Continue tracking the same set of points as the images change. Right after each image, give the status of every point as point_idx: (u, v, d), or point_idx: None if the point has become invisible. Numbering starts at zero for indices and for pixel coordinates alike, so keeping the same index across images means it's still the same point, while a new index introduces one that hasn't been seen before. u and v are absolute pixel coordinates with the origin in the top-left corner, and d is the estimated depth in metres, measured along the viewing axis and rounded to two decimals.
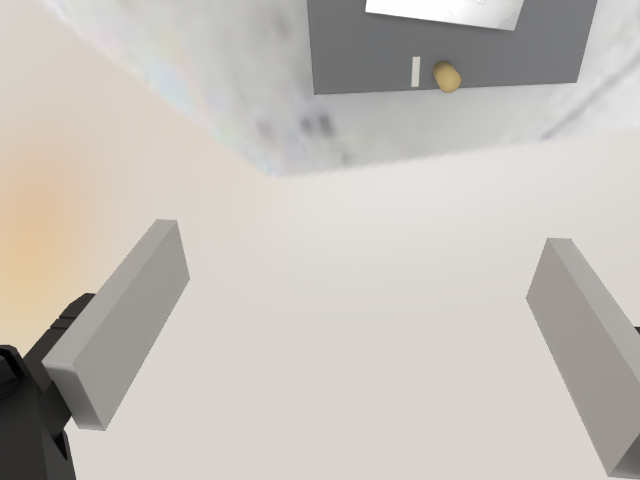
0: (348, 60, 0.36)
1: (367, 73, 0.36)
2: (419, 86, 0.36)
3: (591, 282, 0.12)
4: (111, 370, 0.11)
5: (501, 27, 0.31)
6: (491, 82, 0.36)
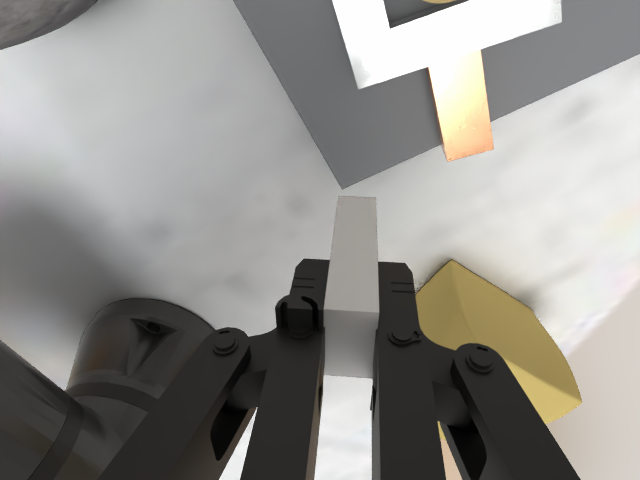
0: (621, 5, 0.24)
1: None
2: None
3: (368, 228, 0.15)
4: None
5: None
6: None
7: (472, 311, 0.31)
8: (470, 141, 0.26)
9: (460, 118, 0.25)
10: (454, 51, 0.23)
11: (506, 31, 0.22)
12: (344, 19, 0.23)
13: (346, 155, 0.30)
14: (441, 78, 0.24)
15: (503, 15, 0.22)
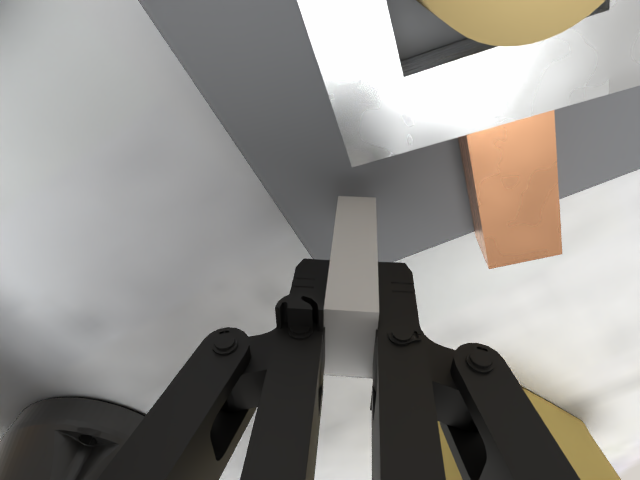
0: None
1: None
2: None
3: (367, 228, 0.15)
4: None
5: None
6: None
7: None
8: (526, 243, 0.17)
9: (513, 211, 0.16)
10: (510, 113, 0.14)
11: (601, 82, 0.13)
12: (328, 61, 0.14)
13: None
14: (486, 152, 0.15)
15: (599, 56, 0.13)
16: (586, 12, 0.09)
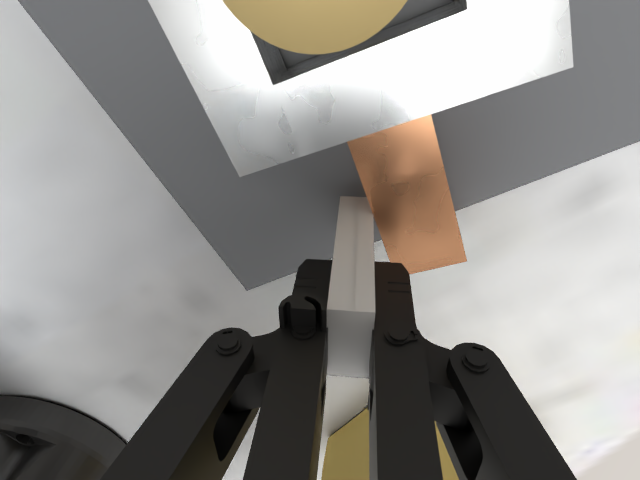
0: None
1: None
2: None
3: (364, 228, 0.15)
4: None
5: None
6: None
7: None
8: (429, 250, 0.16)
9: (409, 218, 0.15)
10: (387, 118, 0.14)
11: (474, 84, 0.13)
12: (194, 71, 0.13)
13: (246, 248, 0.20)
14: (371, 159, 0.14)
15: (467, 58, 0.12)
16: (385, 20, 0.09)
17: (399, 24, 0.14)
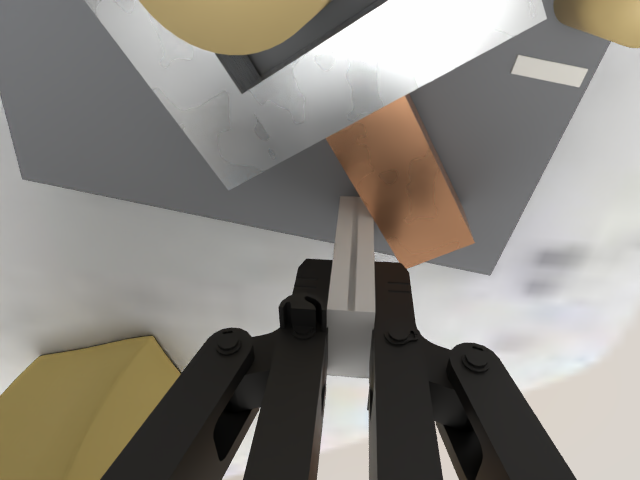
0: None
1: (498, 176, 0.17)
2: (589, 66, 0.14)
3: (364, 228, 0.15)
4: None
5: None
6: None
7: (108, 429, 0.22)
8: (432, 237, 0.15)
9: (405, 207, 0.15)
10: (361, 107, 0.13)
11: (443, 57, 0.12)
12: (166, 93, 0.14)
13: (44, 140, 0.18)
14: (353, 152, 0.14)
15: (430, 30, 0.12)
16: (241, 51, 0.09)
17: (362, 10, 0.14)
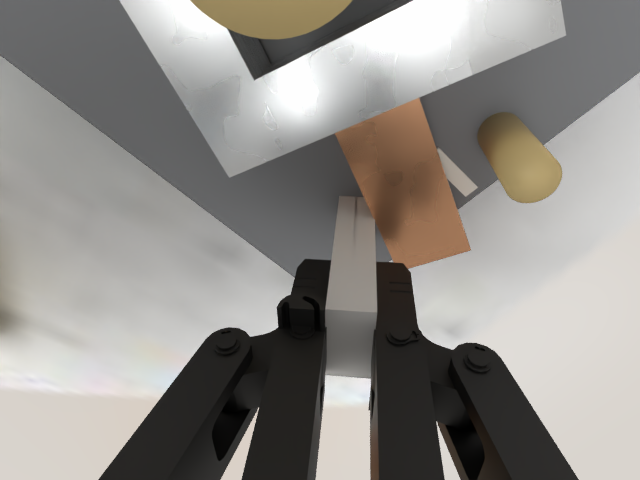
0: None
1: (377, 231, 0.19)
2: (479, 185, 0.17)
3: (366, 228, 0.15)
4: None
5: None
6: (627, 70, 0.14)
7: None
8: (430, 241, 0.15)
9: (406, 209, 0.15)
10: (373, 105, 0.13)
11: (461, 63, 0.12)
12: (174, 72, 0.13)
13: None
14: (361, 150, 0.14)
15: (451, 35, 0.12)
16: (222, 21, 0.09)
17: (381, 8, 0.14)
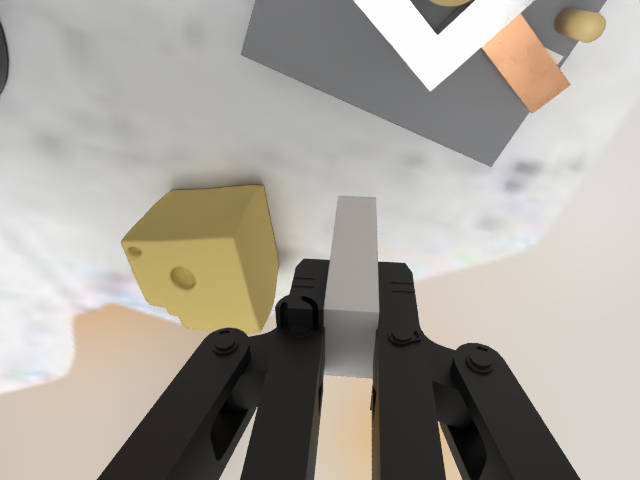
0: (484, 119, 0.33)
1: (509, 106, 0.32)
2: (564, 55, 0.30)
3: (367, 228, 0.15)
4: None
5: None
6: None
7: (248, 222, 0.35)
8: (545, 87, 0.29)
9: (528, 74, 0.28)
10: (498, 25, 0.27)
11: None
12: (399, 46, 0.28)
13: (267, 33, 0.32)
14: (496, 50, 0.28)
15: None
16: (444, 4, 0.24)
17: None
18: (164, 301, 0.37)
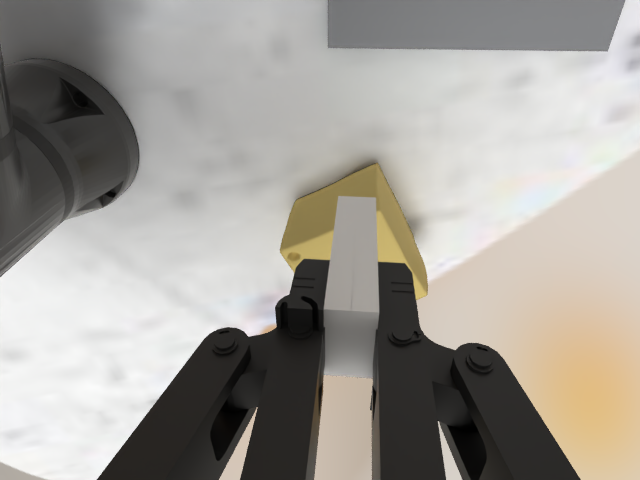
0: (585, 5, 0.32)
1: None
2: None
3: (367, 228, 0.15)
4: None
5: None
6: None
7: (382, 196, 0.37)
8: None
9: None
10: None
11: None
12: None
13: (347, 17, 0.34)
14: None
15: None
16: None
17: None
18: None
